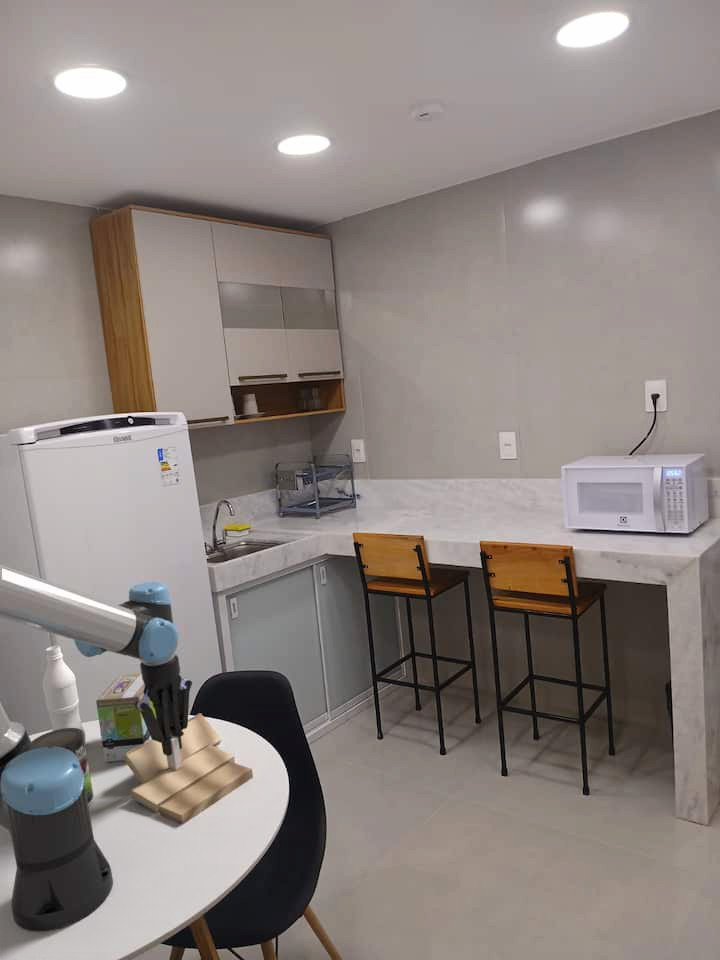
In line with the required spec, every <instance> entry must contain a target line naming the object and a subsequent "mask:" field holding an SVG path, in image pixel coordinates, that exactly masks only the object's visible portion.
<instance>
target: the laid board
mask: <svg viewBox="0 0 720 960" xmlns="http://www.w3.org/2000/svg"><path fill="white" fill-rule="evenodd" d="M253 778H254V774H253V769H252V768H251V767H247V766H245V765H242V764H238V763H233V762H230V761H228V762H226V763H224V764H223V765H221V766H220V767H218V768H216V769H215V770H213V771H212V772H210V773H208V774H207V775H205V776H204V777H202V778H200V779H199V780H197V781H196V782H194V783H192V784H191V785H189V786H188V787H186V788H185V789H183V790H181V791H180V792H178V793H177V794H175V795H173V796H172V797H170V798H169V799H167V800H165V801H164V802H162V803H161V804H159V805H158V808H159V812H158V813H159V815H160V816H162V817H165V818H167V819H170V820H173V821H174V822H177V823H178V824H182V825H184V824H185V823H187V822H189V821H190V820H192V819H193V818H194V817H196V816H198V815H199V814H200V813H202V812H204V811H205V810H206V809H207V808H210V807H211V806H212V805H214V804H216V802H218V801H220V800H221V799H222V798H224V797H226V796H227V795H228V794H230V793H231V792H233V791H234V790H236V789H238V788H239V787H240V786H242V785H243V784H245V783H247V782H248V781H249V780H251V779H253Z"/></svg>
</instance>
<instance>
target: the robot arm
mask: <svg viewBox="0 0 720 960" xmlns="http://www.w3.org/2000/svg"><path fill="white" fill-rule="evenodd" d="M169 593H170V592H169V591H168V587H167V585H166V584H165V583H163V582H161V581H150V582H143V583H140V584H136V585H134V586H133V587H131V588H130V589H129V591H128V600H127V601H125V602H123V603H120V604H115V603H113V602H111V601H107V600H104V599H101V598H98V597H96V596H92V595H90V594H87V593H84V592H80V591H79V590H75V589H73V588H69V587H67V586H64V585H61V584H58V583H55V582H52V581H50V580H47V579H44V578H41V577H38V576H36V575H32V574H31V573H30V574H29V573H26V572H23V571H21V570H17V569H15V568H11V567H9V566H7V565H3V564H1V563H0V620H5V621H8V622H12V623H15V624H19V625H22V626H26V627H29V628H33V629H36V630H38V631H39V630H40V631H43V632H47V633H49V634H53V635H57V636H60V637H64V638H67V639H71V640H73V641H74V644H75V646H76V649H77V650H78V651H79V653H81V655H83V656H84V657H87V658H92V657H96V656H98V655H99V656H101V655H102V654H104V653H105V652H111V653H115V654H119V655H123V656H127V657H131V658H133V659H134V658H135V659H138V660H139V662H140V664H139V666H140V673H141V674H142V679H143V682H144V684H145V688H144V696H143V698H142V699H141V700H140V701H137V702H135V707H136V708H137V709H138V710H139V711H140V712H141V714H142V717H143V719H144V721H145V724H146V726H147V729H148V731H149V733H150V736H151V738H152V740H155V741H157V742H160V743H162V749H163V753H164V755H166V756H167V762H168V767H171V768H173V769H175V770H177V769H179V768H180V767H182V762H181V755H180V749H181V748H182V743H181V736H183V734H184V732H182V730H183V729H186V728H187V726H188V719H189V710H190V709H189V708H190V706H189V705H190V704H189V703H190V691H191V688H192V685H193V681H192V680H189V679H186V678H182V676H181V675H180V673H181V668H180V660H179V657H178V655H177V654H178V645H179V632H178V629H177V628H176V626H175V625H174V621H173V613H172V606H171V605H172V602H171V599H170V594H169ZM149 700H150V701H151V702H152V703H153V707H154V709H155V713H156V718H155V715H154V713H153V711H152V709H151V708H150V707H151V704H150V702H149ZM89 807H90V806H89ZM89 807H88V801H87V795H86V789H85V780H84V773H83V770H82V769H81V765H80V762H79V759H78V757H77V756H76V755H75V754H74V753H73V752H72V751H70V750H68V749H65V748H62V747H53V748H50V749H49V748H48V747H42V748H37V749H35V748H34V746H33V744H32V741H31V738H30V736H29V734H28V732H27V730H26V728H25V727H24V725H23V724H22V723H21V722H17V721H12V720H11V721H10V719H9V717H8V715H7V713H6V711H5V709H4V707H3V705H2V703H1V702H0V826H2V827H3V828H5V829H6V830H8V832H9V834H10V838H11V842H12V844H11V845H12V848H13V853H14V858H15V864H16V871H15V878H14V883H13V890H12V894H11V895H12V896H11V900H10V901H11V902H10V903H11V910H12V911H11V912H12V916H13V917H12V918H13V920H14V921H13V922H15V924H16V926H18V927H19V928H21V929H23V930H25V931H31V932H46V931H50V930H56V929H59V928H62V927H65V926H68V925H70V924H73V923H75V922H77V921H80V920H81V919H83V918H84V917H86V916H88V915H89V914H90V913H91V914H92V912H94V911H95V910H97V909H98V908H99V907H100V906H101V905H102V904H103V902H104V901H105V900H106V899H107V897H108V896H109V895H110V893H111V891H112V890H113V886H114V885H113V884H114V879H113V874H112V873H113V872H112V869H111V865H110V863H109V861H108V859H107V858H106V856H105V855H104V852H103V851H102V850H101V848H100V847H99V845H98V843H97V841H96V840H95V838H94V837H95V836H94V833H93V832H94V831H93V826H92V821H91V820H92V819H91V815H90V809H89Z"/></svg>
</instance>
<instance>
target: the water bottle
mask: <svg viewBox="0 0 720 960" xmlns="http://www.w3.org/2000/svg"><path fill="white" fill-rule="evenodd" d="M45 652H46V659H45V660H46V661H47V667H46V670H45V672H44V675H43V679H42V683H41V684H42V686H41V687H42V689H43V694H44V699H45V707H46V710H47V713H48V715H49V718H50V722H51V728H52V729H51V730H52V731H55V730H59V729H64V728H78V729H81V730H82V731H83V735H84V737H83V738H84V744H86V741H87V740H86V739H87V737H86V731H85V729H84V727H83V724H82V721H81V716H80V711H79V703H80V699H79V694H78V693H79V692H78V689H77V684H76V679H77V678H76V676H75V674H74V672H73V671H72V670H71V668H69V666H68V665H67V664H66V663H65V662H64V659H63V657H64V655H63V653H62V652H61V646H60V645H52V646H50V647H47V648H46V649H45Z"/></svg>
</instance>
